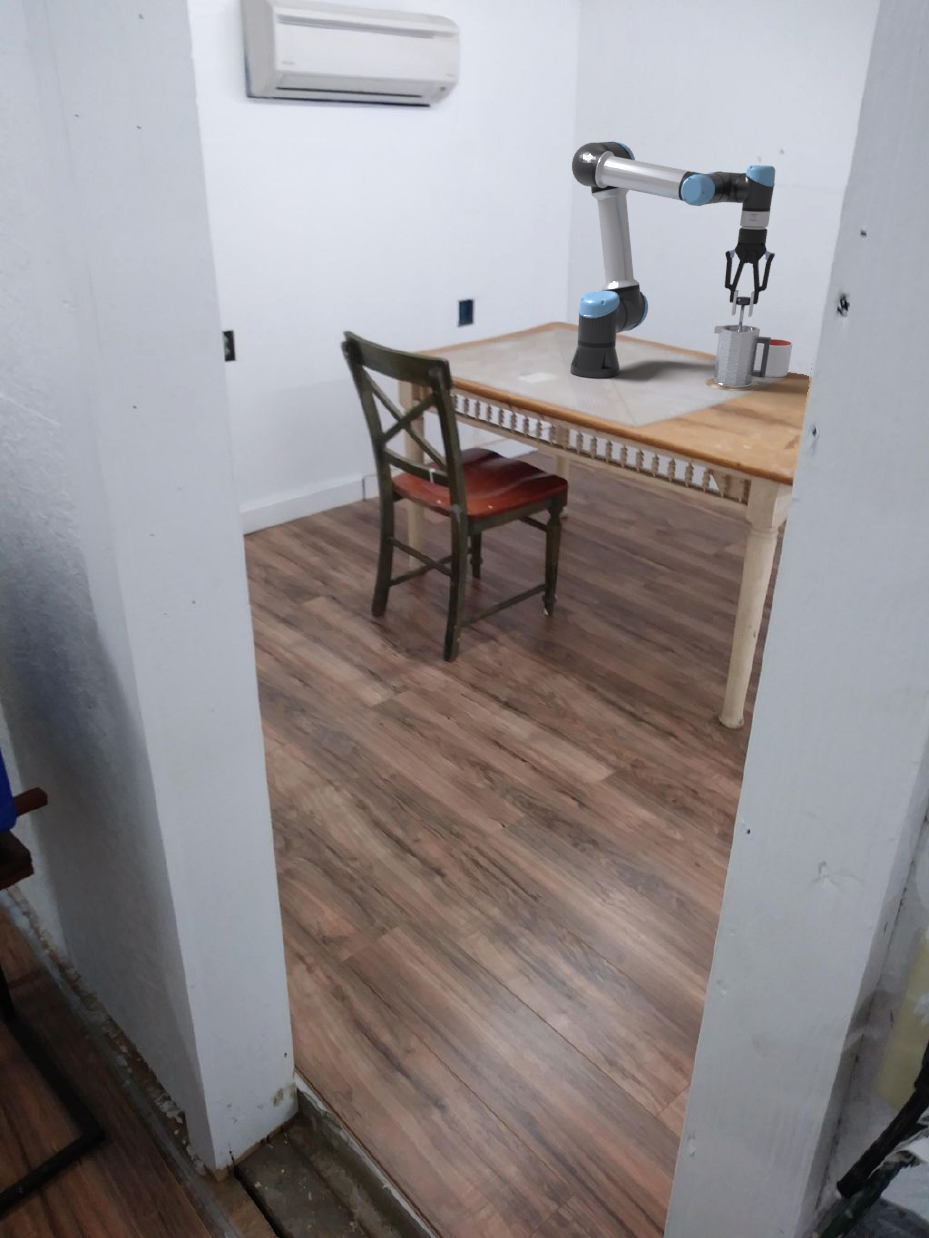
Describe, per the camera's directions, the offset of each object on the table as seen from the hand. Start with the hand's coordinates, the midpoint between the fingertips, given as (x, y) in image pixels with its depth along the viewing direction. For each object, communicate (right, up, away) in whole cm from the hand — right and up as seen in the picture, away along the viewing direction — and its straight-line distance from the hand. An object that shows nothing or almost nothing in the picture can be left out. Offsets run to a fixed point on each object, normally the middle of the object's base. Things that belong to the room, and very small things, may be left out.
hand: (741, 315), depth 275 cm
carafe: (0, -17, +9) cm, 20 cm away
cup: (+15, -12, +21) cm, 29 cm away
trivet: (0, -18, +10) cm, 20 cm away
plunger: (0, -5, +3) cm, 6 cm away
